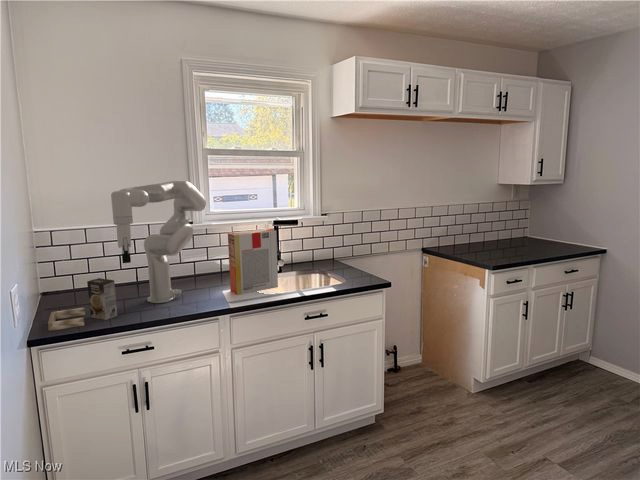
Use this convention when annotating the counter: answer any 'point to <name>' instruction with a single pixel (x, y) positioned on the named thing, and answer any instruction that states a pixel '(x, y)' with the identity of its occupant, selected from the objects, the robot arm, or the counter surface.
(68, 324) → the dock
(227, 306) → the counter surface
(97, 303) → the coffee box
